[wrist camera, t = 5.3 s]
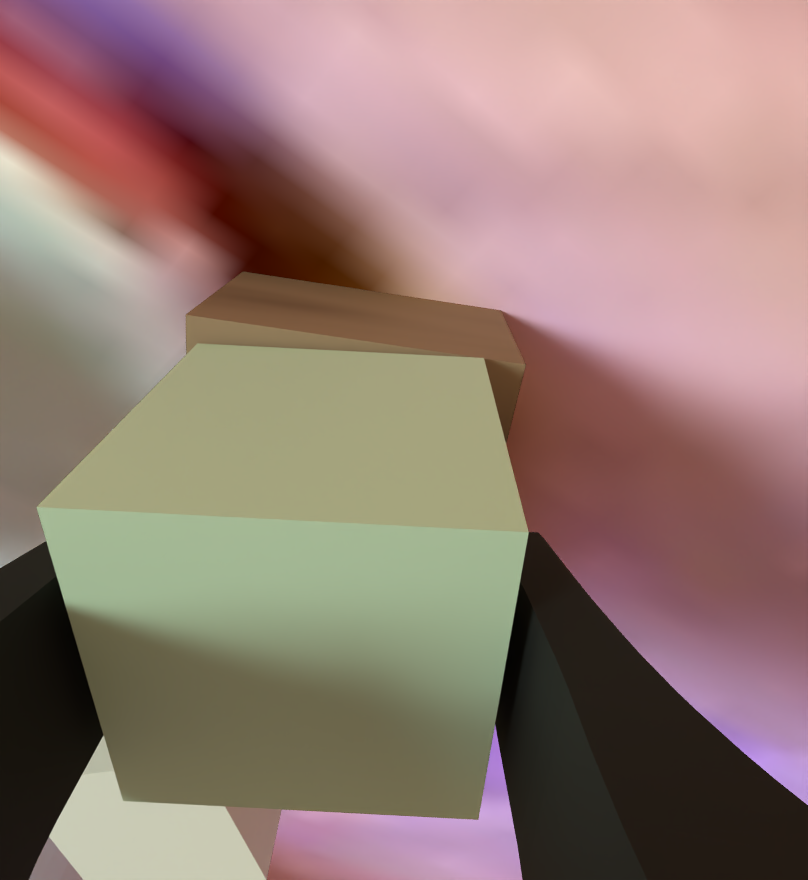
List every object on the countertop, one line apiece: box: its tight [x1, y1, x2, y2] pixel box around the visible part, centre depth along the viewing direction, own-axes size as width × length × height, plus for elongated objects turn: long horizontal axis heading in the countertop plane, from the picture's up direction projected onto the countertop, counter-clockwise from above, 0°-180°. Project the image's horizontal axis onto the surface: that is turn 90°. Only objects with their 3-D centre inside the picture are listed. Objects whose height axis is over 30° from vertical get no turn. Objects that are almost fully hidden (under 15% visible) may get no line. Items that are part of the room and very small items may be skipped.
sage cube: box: [36, 343, 529, 820], centre depth 10 cm, size 5×5×5 cm
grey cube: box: [49, 735, 282, 880], centre depth 18 cm, size 5×5×5 cm
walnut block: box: [186, 272, 526, 442], centre depth 14 cm, size 6×6×4 cm
